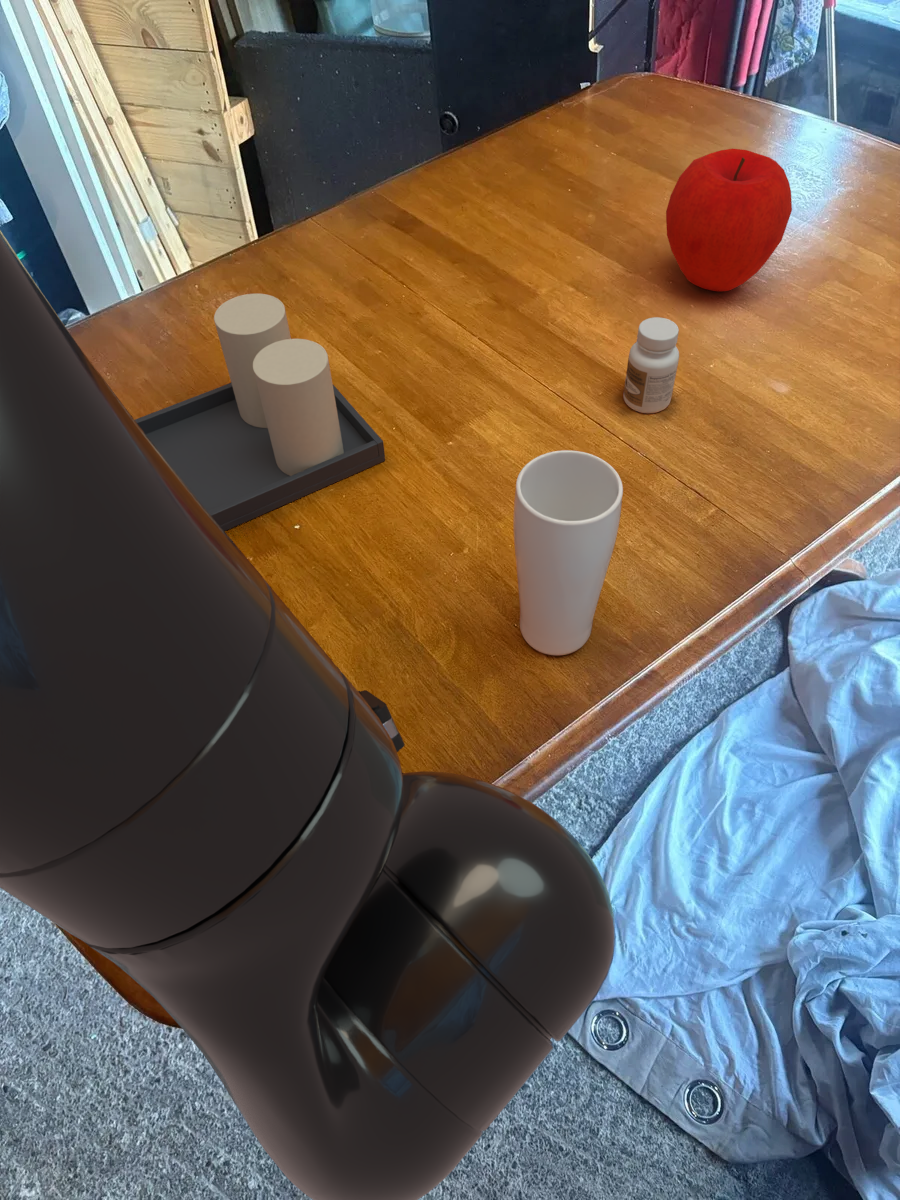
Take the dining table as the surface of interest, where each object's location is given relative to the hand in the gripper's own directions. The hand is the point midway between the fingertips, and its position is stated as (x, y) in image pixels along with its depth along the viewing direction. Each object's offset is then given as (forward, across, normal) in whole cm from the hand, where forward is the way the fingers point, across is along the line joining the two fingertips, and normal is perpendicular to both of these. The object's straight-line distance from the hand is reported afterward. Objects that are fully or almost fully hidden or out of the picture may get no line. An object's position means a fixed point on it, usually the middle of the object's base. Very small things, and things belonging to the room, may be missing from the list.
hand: (249, 752), depth 54 cm
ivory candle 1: (+30, -17, -22) cm, 40 cm away
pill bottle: (+18, -47, -8) cm, 51 cm away
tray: (+27, -10, -18) cm, 34 cm away
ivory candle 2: (+24, -17, -16) cm, 33 cm away
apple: (+25, -65, -16) cm, 71 cm away
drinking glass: (+6, -24, +4) cm, 25 cm away
